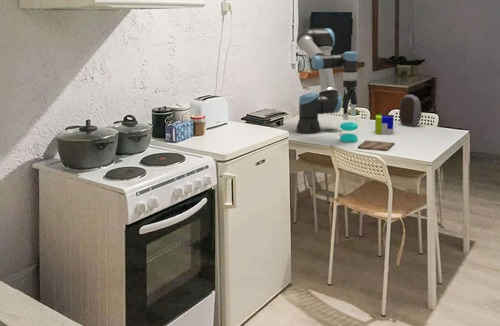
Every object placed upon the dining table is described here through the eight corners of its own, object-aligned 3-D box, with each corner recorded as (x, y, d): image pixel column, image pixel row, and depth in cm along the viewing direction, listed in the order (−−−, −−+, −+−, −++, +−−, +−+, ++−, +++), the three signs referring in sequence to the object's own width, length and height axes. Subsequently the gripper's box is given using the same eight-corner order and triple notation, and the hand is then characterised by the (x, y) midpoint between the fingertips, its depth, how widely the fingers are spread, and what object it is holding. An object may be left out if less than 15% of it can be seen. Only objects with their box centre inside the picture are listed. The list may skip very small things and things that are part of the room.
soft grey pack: (396, 124, 345) (397, 93, 339) (404, 122, 349) (406, 92, 344) (415, 127, 333) (417, 96, 327) (423, 125, 338) (425, 94, 332)
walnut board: (357, 148, 285) (357, 146, 285) (365, 142, 298) (365, 140, 298) (387, 151, 278) (387, 149, 277) (394, 144, 291) (394, 142, 291)
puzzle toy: (392, 134, 316) (393, 117, 313) (375, 134, 318) (376, 117, 315) (391, 130, 326) (392, 114, 323) (375, 130, 328) (375, 114, 325)
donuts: (359, 122, 303) (355, 125, 294) (359, 139, 305) (355, 143, 297) (342, 121, 307) (338, 124, 298) (342, 138, 309) (337, 142, 301)
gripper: (349, 82, 281) (349, 121, 287) (363, 77, 303) (362, 114, 308) (336, 82, 285) (335, 120, 290) (350, 77, 306) (349, 113, 311)
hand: (349, 117), depth 299 cm, fingers open, 13 cm apart
